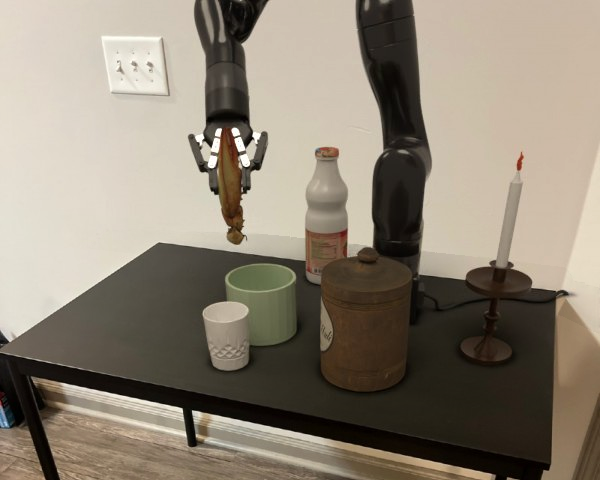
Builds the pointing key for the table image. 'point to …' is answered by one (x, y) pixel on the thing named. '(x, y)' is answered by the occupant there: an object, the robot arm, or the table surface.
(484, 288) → the candlestick
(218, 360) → the white cup
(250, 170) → the robot arm
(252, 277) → the crock
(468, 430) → the table surface
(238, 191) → the crab claw
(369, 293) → the wooden container
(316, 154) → the fruit juice
